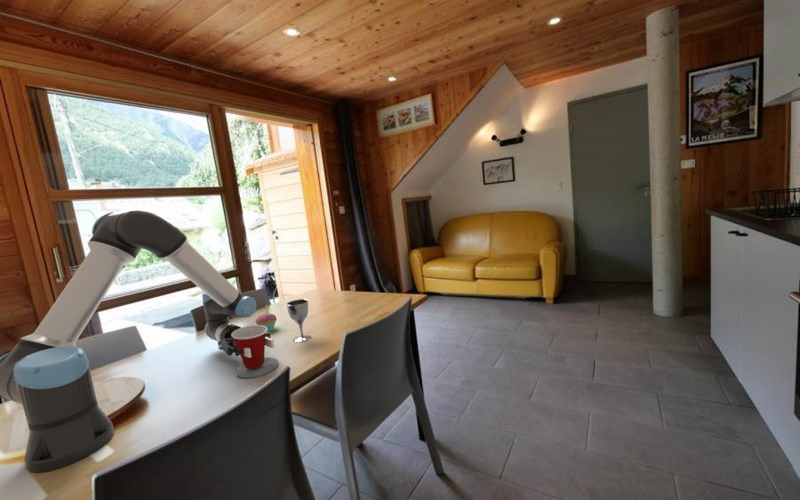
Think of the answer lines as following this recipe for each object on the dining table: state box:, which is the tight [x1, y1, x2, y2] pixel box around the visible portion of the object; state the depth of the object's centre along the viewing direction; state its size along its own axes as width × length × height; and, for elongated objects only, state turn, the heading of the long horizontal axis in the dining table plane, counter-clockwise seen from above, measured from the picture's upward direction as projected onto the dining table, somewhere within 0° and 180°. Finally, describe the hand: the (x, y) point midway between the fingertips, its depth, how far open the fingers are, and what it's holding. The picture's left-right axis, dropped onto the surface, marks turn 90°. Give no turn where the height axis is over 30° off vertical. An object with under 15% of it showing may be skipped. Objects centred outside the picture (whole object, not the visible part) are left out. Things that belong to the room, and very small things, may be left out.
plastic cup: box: [231, 324, 267, 369], centre depth 112 cm, size 11×11×12 cm
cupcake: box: [255, 303, 278, 332], centre depth 151 cm, size 9×8×12 cm
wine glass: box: [286, 298, 312, 343], centre depth 136 cm, size 8×8×15 cm
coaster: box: [235, 357, 279, 380], centre depth 114 cm, size 13×13×1 cm
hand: (261, 348), depth 110 cm, fingers closed on plastic cup, 7 cm apart
